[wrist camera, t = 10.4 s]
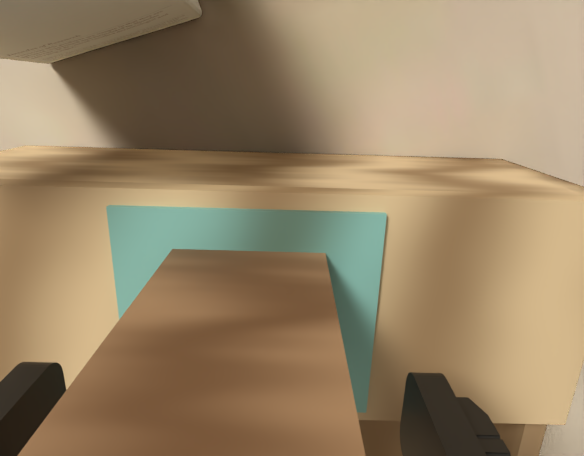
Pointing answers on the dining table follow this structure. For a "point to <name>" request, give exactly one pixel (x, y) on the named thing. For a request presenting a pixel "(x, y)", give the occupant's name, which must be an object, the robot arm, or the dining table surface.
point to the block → (215, 366)
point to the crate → (340, 258)
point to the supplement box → (82, 25)
